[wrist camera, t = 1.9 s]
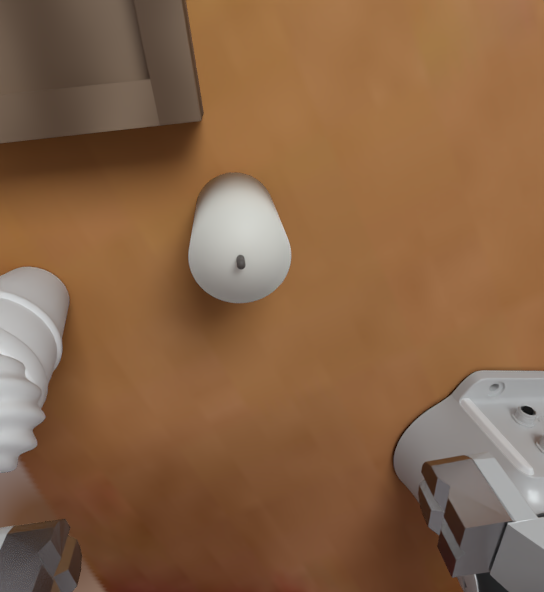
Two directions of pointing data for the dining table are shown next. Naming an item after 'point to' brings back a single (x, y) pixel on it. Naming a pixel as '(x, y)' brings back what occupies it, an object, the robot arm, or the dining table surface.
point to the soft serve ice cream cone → (27, 354)
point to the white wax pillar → (237, 240)
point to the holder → (94, 67)
